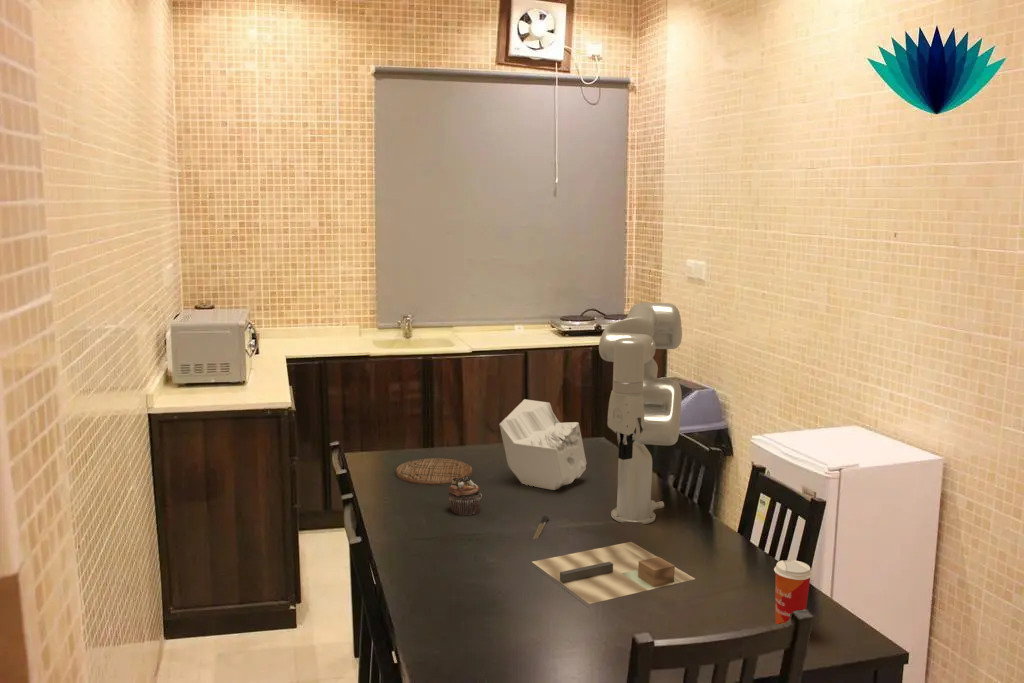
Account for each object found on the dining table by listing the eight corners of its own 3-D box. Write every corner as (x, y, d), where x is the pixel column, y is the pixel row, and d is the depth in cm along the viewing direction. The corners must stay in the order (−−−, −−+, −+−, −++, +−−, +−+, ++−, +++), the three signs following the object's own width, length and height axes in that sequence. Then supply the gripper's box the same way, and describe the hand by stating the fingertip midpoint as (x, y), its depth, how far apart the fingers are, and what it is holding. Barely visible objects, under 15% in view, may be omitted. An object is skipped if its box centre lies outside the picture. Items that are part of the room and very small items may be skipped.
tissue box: (591, 472, 285) (579, 406, 275) (568, 501, 273) (555, 433, 263) (537, 463, 296) (524, 398, 285) (513, 490, 284) (499, 424, 274)
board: (631, 545, 231) (631, 541, 231) (695, 582, 209) (695, 578, 209) (531, 565, 217) (531, 561, 217) (589, 608, 195) (589, 603, 195)
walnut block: (658, 572, 212) (658, 556, 211) (674, 581, 207) (674, 565, 206) (638, 577, 209) (638, 561, 208) (653, 586, 204) (654, 570, 203)
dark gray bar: (609, 569, 213) (609, 561, 213) (612, 571, 212) (613, 563, 211) (559, 580, 206) (560, 572, 206) (563, 582, 205) (563, 574, 205)
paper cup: (765, 620, 190) (768, 559, 188) (799, 619, 191) (803, 558, 189) (778, 638, 182) (783, 574, 180) (814, 637, 183) (819, 573, 181)
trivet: (469, 487, 279) (469, 481, 278) (391, 485, 279) (391, 479, 278) (474, 464, 303) (474, 458, 303) (401, 463, 303) (401, 457, 303)
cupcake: (462, 519, 249) (462, 485, 248) (442, 510, 256) (442, 476, 255) (488, 511, 255) (489, 478, 254) (467, 503, 263) (468, 470, 261)
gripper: (598, 383, 225) (596, 452, 227) (633, 394, 212) (630, 468, 214) (622, 380, 228) (620, 449, 231) (658, 391, 215) (655, 464, 218)
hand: (625, 458), depth 223 cm, fingers closed
